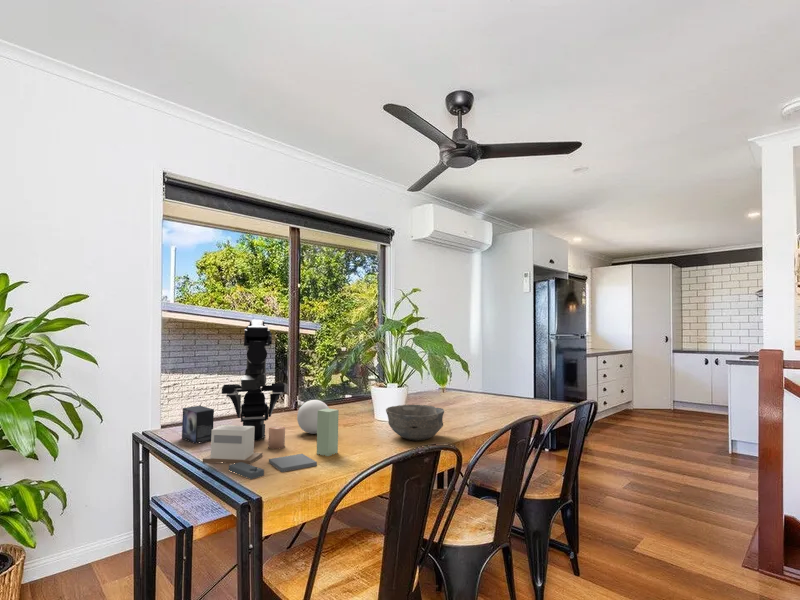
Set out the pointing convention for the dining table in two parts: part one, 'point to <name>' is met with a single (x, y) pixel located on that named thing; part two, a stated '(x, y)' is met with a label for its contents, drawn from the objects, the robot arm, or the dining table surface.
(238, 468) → the bracket
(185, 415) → the small box
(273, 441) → the peach rounded cylinder
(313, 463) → the slate grey pad
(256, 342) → the robot arm
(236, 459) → the mounted unit
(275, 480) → the dining table surface
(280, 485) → the dining table surface
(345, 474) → the dining table surface
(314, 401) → the decorative ball
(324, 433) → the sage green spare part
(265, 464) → the dining table surface
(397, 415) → the bowl
